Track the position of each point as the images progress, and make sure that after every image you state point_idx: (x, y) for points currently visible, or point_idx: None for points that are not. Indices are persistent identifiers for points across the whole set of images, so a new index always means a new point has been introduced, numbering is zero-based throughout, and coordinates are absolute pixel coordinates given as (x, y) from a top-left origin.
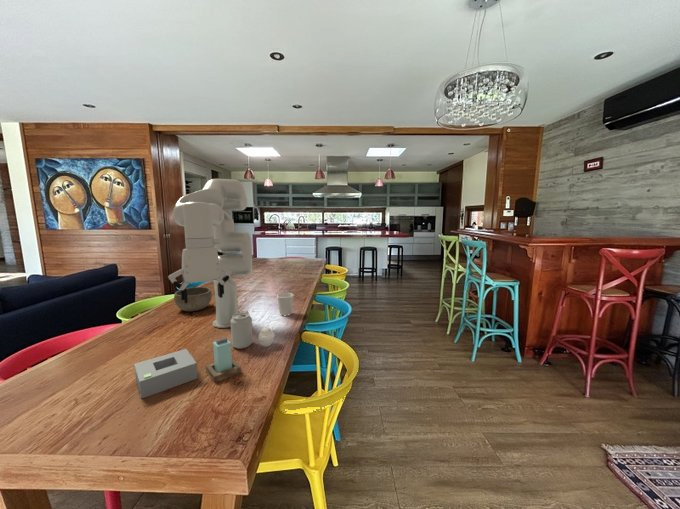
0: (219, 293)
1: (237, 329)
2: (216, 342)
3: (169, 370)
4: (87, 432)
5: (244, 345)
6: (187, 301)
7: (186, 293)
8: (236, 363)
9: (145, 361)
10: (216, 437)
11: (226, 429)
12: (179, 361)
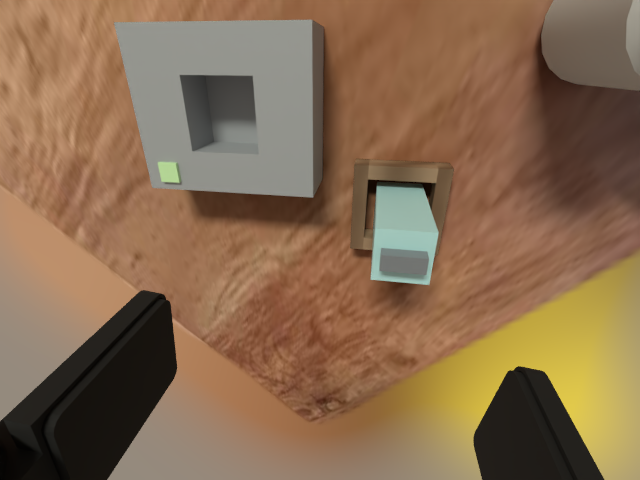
0: (491, 472)
1: (605, 68)
2: (380, 256)
3: (229, 183)
4: (102, 218)
5: (576, 83)
6: (169, 382)
7: (108, 467)
8: (440, 226)
9: (152, 33)
10: (295, 378)
11: (314, 376)
12: (265, 140)
